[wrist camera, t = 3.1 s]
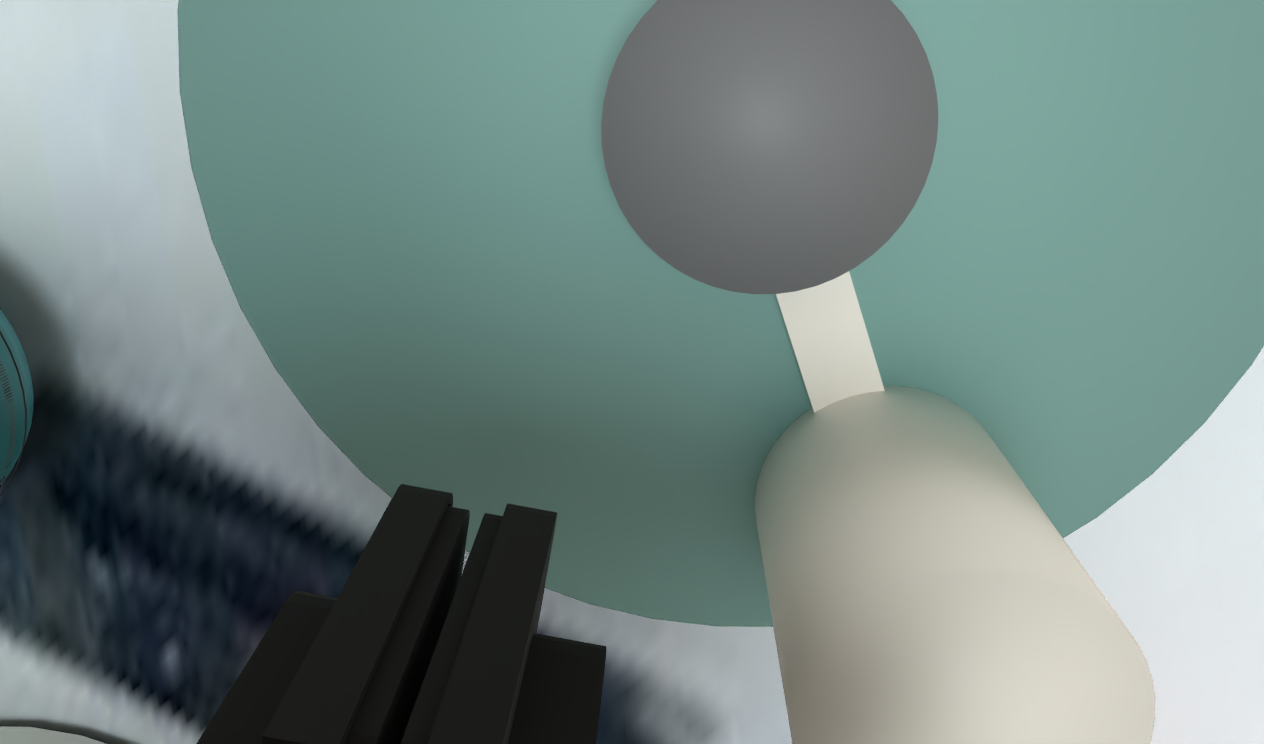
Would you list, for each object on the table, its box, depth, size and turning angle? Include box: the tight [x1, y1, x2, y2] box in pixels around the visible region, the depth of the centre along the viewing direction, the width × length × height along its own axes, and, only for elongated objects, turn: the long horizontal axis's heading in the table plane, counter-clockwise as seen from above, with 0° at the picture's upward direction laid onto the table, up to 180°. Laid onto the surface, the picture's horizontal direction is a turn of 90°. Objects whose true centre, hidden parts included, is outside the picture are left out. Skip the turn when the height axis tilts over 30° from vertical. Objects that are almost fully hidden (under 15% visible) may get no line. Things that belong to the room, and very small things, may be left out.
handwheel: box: [178, 0, 1264, 744], centre depth 12 cm, size 15×15×6 cm
